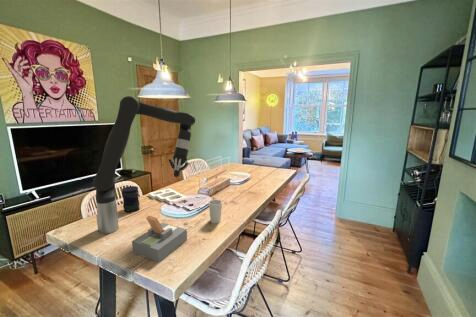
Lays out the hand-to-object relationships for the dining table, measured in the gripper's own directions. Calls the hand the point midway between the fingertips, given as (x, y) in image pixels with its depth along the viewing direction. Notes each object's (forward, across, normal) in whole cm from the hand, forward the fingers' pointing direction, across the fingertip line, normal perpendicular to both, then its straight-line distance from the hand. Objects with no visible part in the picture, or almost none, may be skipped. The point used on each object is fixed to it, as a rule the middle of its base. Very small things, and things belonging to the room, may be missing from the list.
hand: (176, 176), depth 133 cm
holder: (+22, -15, +35) cm, 44 cm away
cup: (+22, +25, +14) cm, 36 cm away
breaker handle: (+27, +7, -19) cm, 34 cm away
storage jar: (+29, -34, +15) cm, 47 cm away
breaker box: (+33, +8, -17) cm, 38 cm away
